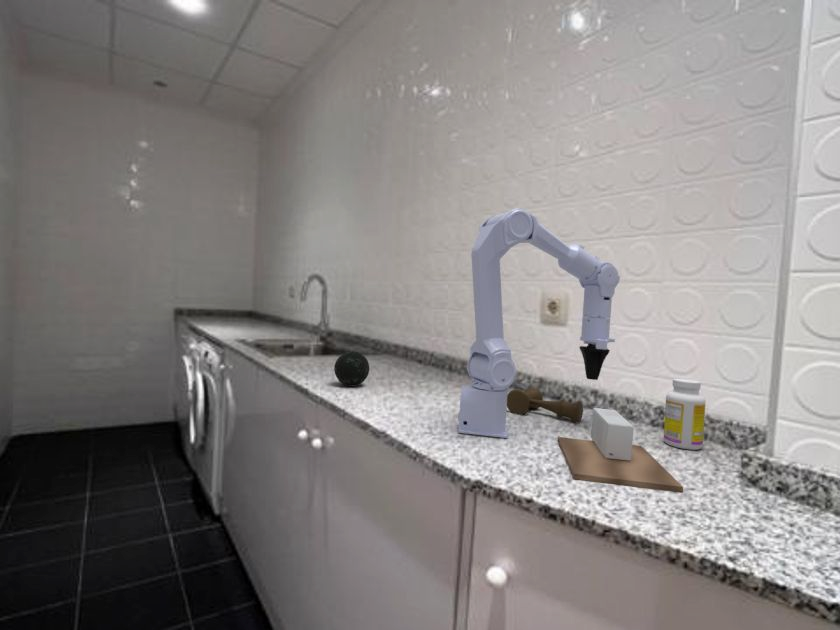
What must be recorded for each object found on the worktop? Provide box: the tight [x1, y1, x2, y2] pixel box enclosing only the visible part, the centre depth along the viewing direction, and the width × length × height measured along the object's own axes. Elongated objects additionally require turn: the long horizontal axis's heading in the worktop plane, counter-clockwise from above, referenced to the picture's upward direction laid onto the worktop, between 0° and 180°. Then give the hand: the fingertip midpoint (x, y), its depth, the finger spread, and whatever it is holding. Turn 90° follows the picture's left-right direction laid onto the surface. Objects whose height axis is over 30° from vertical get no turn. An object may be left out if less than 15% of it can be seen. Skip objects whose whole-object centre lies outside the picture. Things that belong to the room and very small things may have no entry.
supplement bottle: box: [663, 378, 706, 451], centre depth 86 cm, size 7×7×13 cm
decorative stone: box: [333, 350, 370, 386], centre depth 127 cm, size 10×10×10 cm
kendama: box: [507, 386, 584, 424], centre depth 105 cm, size 6×10×20 cm
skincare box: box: [590, 407, 634, 461], centre depth 79 cm, size 6×4×12 cm
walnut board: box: [557, 436, 684, 493], centre depth 74 cm, size 15×19×1 cm
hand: (592, 379), depth 97 cm, fingers closed
